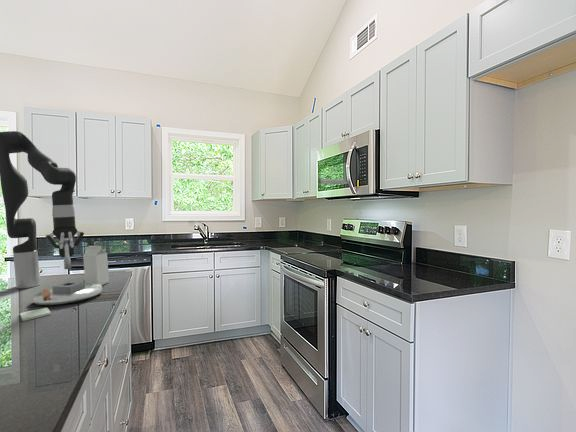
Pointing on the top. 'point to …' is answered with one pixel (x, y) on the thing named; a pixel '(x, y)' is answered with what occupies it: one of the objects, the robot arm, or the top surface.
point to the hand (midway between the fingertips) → (67, 256)
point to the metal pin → (67, 254)
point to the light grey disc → (67, 293)
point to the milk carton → (96, 265)
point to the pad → (35, 314)
